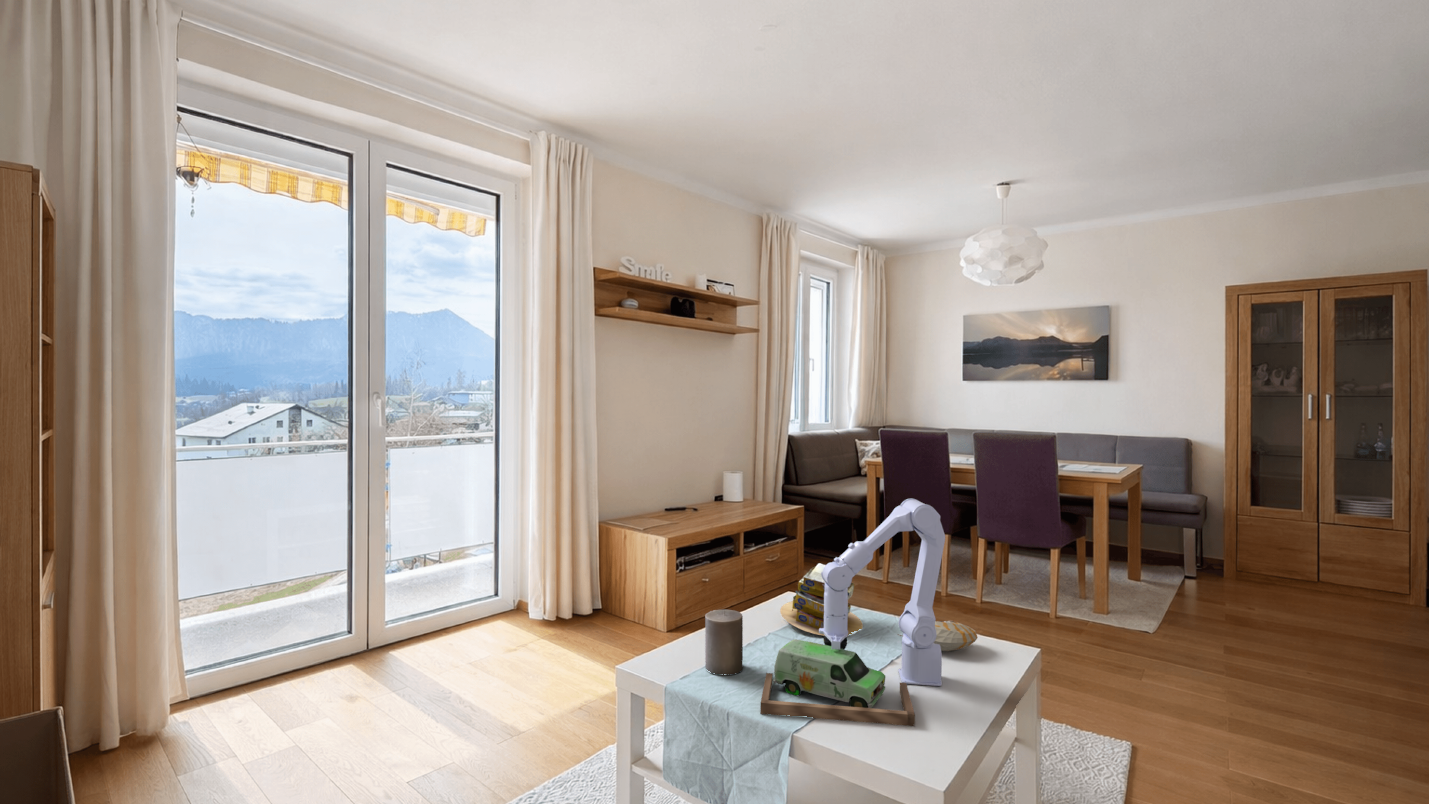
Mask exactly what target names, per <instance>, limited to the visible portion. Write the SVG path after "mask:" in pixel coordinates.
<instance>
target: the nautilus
mask: <svg viewBox="0 0 1429 804" xmlns="http://www.w3.org/2000/svg"><path fill="white" fill-rule="evenodd" d="M935 629H936V633H937V635H936V640H935V641H934V643H935V644H939V645H940V647H941V652H955V651H958V650H961V649H964V648H967V647H969V646H971V645H973V643H975V642H976V641H977V639H978V635H977V631H976V630H975V629H974V628H972V627H971V626H969V625H966V624H963V623H961V622H956V621H954V620H944V621H942V620H936V621H935ZM897 635H898V636H900V637H901V636H902V637H903V634H902V635H901V634H898V633H897Z"/></svg>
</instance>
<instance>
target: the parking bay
mask: <svg viewBox="0 0 1429 804" xmlns="http://www.w3.org/2000/svg"><path fill="white" fill-rule="evenodd" d="M773 674H774V673H772V672H766V674H765V678H764V682H763V688H762V689H763V690H762V694H761V699H760V709H759V710H760V711H759V713H760V715H767V716H768V714H771V715H770V716H780V715H786V716H785V717H788V716H787V715H790V716H789V717H792V716H807V717H813V718H812V719H817V720H819V719H820V720H833V721H842V722H843V721H845V722H857V723H868V724H878V725H879V724H881V725H893V726H905V727H915V725H916V714H915V711H914V705H913V702H912V699H911V695H910V692H909V688H908V685H907V684H906V683H901V682H899V696H900V700H901V704H902V705H901V706H902V708H903V710H901V709H899V710H898V709H886V708H885V709H883V708H873V707H872V708H869V707H868V708H861V707H850V706H847V705H833V704H821V703H820V704H819V703H810V702H809V703H808V702H797V701H795V702H794V701H783V700H782V701H781V700H770V699H771V695H772V688H773V680H774V679H773Z"/></svg>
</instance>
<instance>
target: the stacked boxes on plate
mask: <svg viewBox="0 0 1429 804" xmlns="http://www.w3.org/2000/svg"><path fill="white" fill-rule="evenodd" d="M826 565H827V564H823V563H820V562H819V563H817V564H816V566H814V567H812V568H810V569H809V571H808V572H806V574H805V575H803V577H802V578H801V579H800V580H799V581H798V583H797V590H795V595H794V596H792V597H793V598H792V601H789V602H786V603H784V604H783V605H781V607H780V611H779V612H780V614H781V615H780V616H781V617H782V618H783V619H784V620H785V621H786V622H787V623H789V624H790V625H792V626H794V627H795V628H798V629H799V630H802V631H804V632H807V633H811V634H814V635H819V636H823V637H824V636H825V635H824V634H820V633H819V628H824V592H825V581H824V580H823V578H822V575H821V572H823V570H824V567H825V566H826ZM854 592H855V583H854V582H851V585H850V586H849V587H848V600H850V598H852V596H853V593H854ZM851 608H852V605H851V604H850V603H848V621H847V630H848V635H849V634H852V633H851V632H854V631H858V630H859V629H862V630H863V627H864V625H863V622H862V620H861V618H859V617H858V616H857V615H856V614H854V613H853V612H851Z"/></svg>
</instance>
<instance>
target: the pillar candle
mask: <svg viewBox="0 0 1429 804" xmlns="http://www.w3.org/2000/svg"><path fill="white" fill-rule="evenodd" d="M704 616H705V617H704V619H705V620H704V622H705V623H704V625H705V628H704V629H705V631H704V632H705V634H704V635H705V645H704V646H705V648H704V649H705V650H704V651H705V653H704V654H705V658H704V659H705V670H706V669H707V670H708V671H710V672H711V673H715V674H723V675H722V676H725V675H724V674H727V675H726V676H731V675H730V674H734V675H736V674H735V673H737V674H739V672H740V671H741V672H742V671H743V669H744V665H743V659H744V656H743V649H744V648H743V647H744V646H743V645H744V644H743V639H744V637H743V636H744V635H743V633H744V631H743V629H744V627H743V625H744V624H743V621H744V620H743V614H742V613H741V612H740V611H737V610H734V609H733V610H732V609H715V610H714V609H713V610H710V611H709V612H707V613H705V615H704ZM707 670H706V671H707ZM708 671H707V672H708ZM741 672H740V673H741ZM711 673H710V674H711ZM728 674H729V675H728Z"/></svg>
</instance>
